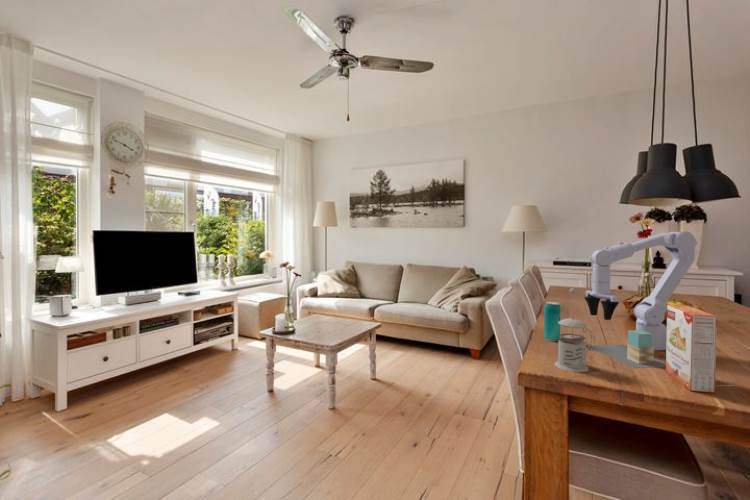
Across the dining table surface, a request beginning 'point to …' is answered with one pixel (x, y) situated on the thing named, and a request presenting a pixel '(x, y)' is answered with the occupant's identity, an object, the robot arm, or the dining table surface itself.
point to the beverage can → (552, 321)
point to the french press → (572, 346)
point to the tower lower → (640, 358)
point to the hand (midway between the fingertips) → (600, 317)
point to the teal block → (639, 338)
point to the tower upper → (640, 351)
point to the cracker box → (691, 347)
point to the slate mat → (625, 356)
